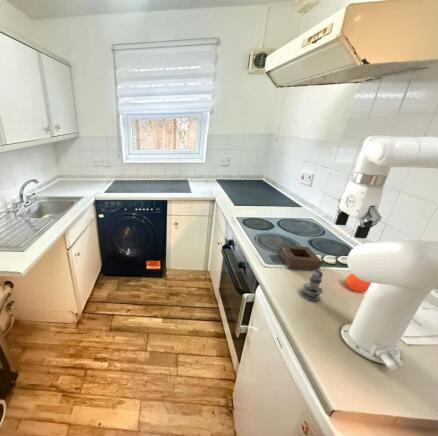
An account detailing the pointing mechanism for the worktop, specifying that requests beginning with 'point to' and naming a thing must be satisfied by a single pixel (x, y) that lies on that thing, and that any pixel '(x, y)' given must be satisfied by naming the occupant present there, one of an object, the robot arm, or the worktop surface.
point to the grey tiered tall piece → (313, 286)
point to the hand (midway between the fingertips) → (349, 231)
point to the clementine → (357, 283)
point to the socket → (299, 258)
